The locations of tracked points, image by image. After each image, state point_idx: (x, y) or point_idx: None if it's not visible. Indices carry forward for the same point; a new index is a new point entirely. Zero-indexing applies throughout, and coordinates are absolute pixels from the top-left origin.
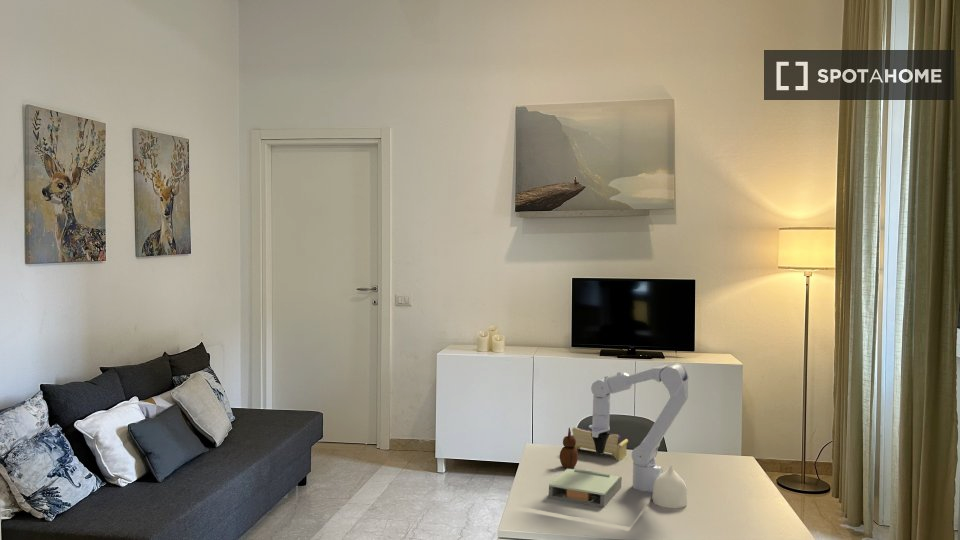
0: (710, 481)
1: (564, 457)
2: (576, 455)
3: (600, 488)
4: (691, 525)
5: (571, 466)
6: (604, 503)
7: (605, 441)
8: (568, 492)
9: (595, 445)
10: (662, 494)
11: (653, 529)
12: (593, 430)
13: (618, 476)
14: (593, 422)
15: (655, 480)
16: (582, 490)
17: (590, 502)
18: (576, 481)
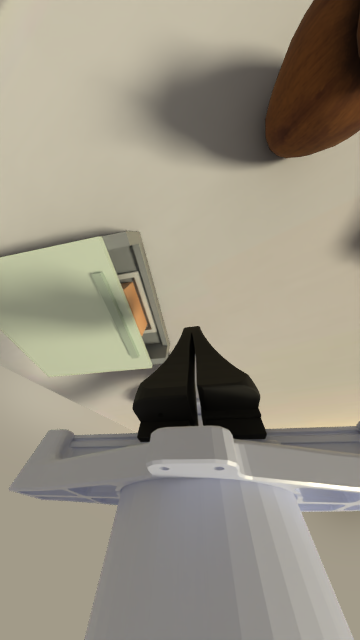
0: (284, 407)
1: (282, 76)
2: (324, 142)
3: (60, 365)
4: (121, 416)
5: (271, 150)
6: None
7: (195, 396)
8: None
9: (175, 348)
10: None
11: (79, 401)
12: (67, 477)
13: (164, 358)
14: (100, 620)
15: None
16: (19, 345)
17: None
18: (39, 316)
